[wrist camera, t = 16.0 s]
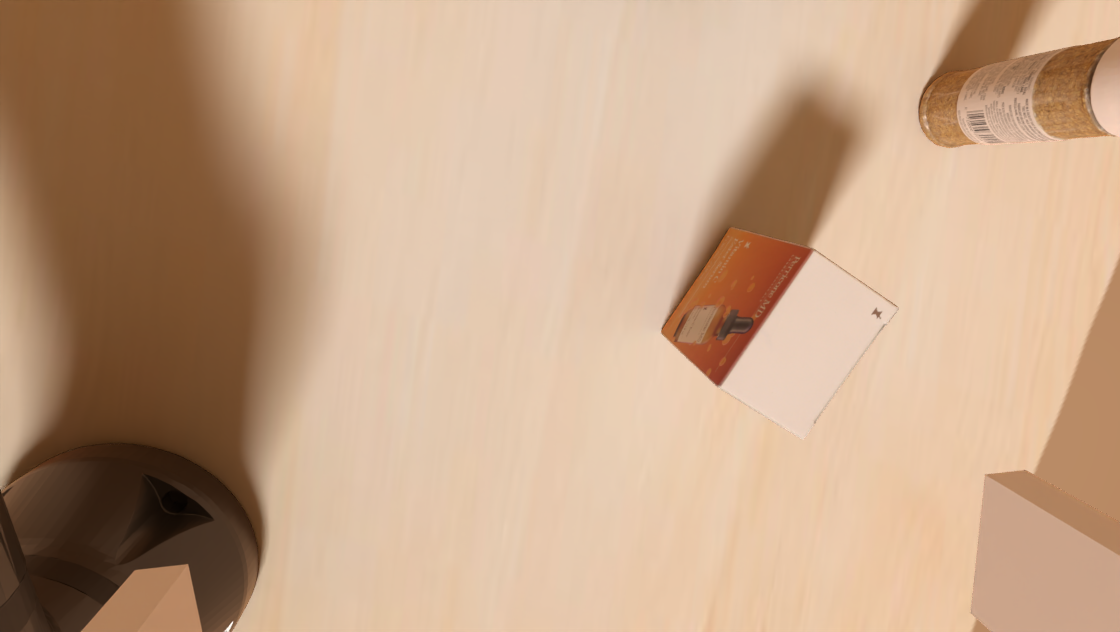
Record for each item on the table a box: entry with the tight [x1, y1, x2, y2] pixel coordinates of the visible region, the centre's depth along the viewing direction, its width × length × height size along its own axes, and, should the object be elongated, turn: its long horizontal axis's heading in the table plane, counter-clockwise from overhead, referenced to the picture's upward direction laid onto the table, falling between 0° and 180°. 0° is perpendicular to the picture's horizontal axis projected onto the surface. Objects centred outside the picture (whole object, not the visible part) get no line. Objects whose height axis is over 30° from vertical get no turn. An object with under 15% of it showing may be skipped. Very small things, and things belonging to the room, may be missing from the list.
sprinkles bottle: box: [919, 37, 1120, 148], centre depth 33 cm, size 5×5×13 cm
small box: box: [661, 227, 899, 439], centre depth 35 cm, size 8×6×10 cm
